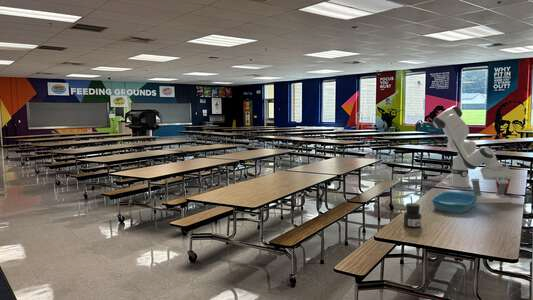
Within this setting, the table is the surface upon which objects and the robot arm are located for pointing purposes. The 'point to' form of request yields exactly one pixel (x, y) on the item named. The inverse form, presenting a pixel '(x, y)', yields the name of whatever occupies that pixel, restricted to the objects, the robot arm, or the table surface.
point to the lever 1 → (476, 187)
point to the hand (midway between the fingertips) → (501, 183)
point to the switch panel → (492, 199)
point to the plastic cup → (506, 186)
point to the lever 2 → (502, 187)
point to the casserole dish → (454, 202)
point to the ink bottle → (412, 216)
